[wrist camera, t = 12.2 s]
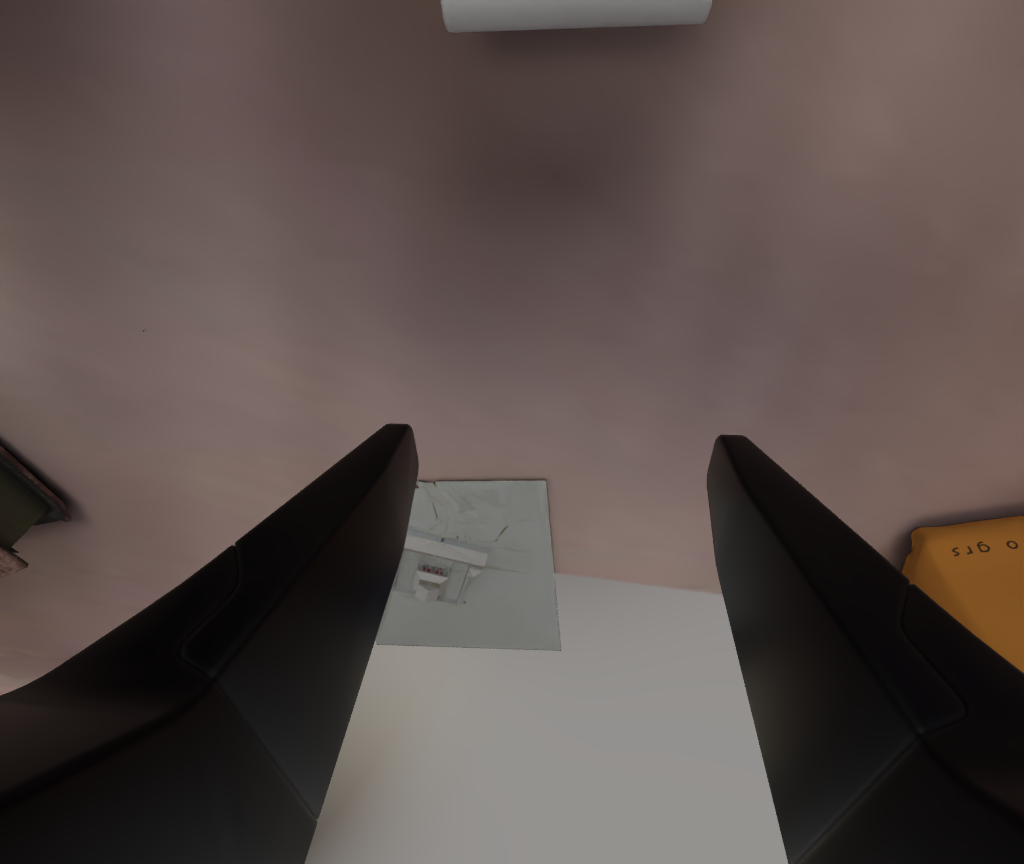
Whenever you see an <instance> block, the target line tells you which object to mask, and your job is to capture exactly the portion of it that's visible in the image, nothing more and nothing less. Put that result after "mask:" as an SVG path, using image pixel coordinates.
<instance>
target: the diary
mask: <svg viewBox="0 0 1024 864" xmlns="http://www.w3.org/2000/svg"><path fill="white" fill-rule="evenodd" d="M59 520H62V521H65V522H69V521H71V516H70V515H69V513H68V511H67V509H66V507H65V505H64V503H63V502H62V501H61V500H60V499H59V498H57V497H56V496H55V495H54V494H53V493H52V492H51V491H50V490H49V489H48V488H46V487H45V486H44V485H43V484H42V483H41V482H40V481H39V480H38V479H37V478H35V477H34V476H33V475H32V474H31V473H30V472H29V471H28V470H27V469H25V468H24V467H23V466H22V465H21V464H20V463H19V462H18V461H17V460H16V459H14V458H13V457H12V456H11V455H10V454H9V453H8V452H7V451H6V450H5V449H3V448H2V447H1V446H0V577H2V576H6V575H9V574H12V573H14V572H17V571H19V570H21V569H24V568H26V567H28V563H27V562H25V561H24V560H23V559H21V558H20V557H18V556H17V555H16V554H14V553H19V552H18V551H16V550H14V549H13V548H11V547H12V546H13V545H14V544H15V543H16V542H17V541H18V540H19V539H20V538H21V537H22V536H23V535H24V534H25V533H26V532H27V531H28V530H29V529H30V528H31V527H32V526H34V525H39V524H44V523H49V522H54V521H59ZM13 552H14V553H13Z"/></svg>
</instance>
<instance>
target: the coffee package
mask: <svg viewBox="0 0 1024 864" xmlns="http://www.w3.org/2000/svg"><path fill="white" fill-rule="evenodd" d="M911 539H912V546H911V548H912V552H911V553H910V554H909V555H908V556H907V558H906V560H905V564H904V566H903V570H902V572H901V573H902V574H904V575H905V576H906V577H907V578H908V579H909V580H910V584H915V585H916V586H918V587H919V588H920V589H921V590H922V591H923V592H925V593H926V594H927V595H928V596H929V597H930V598H931V599H933V600H934V601H935V602H936V603H937V604H938V605H940V606H941V607H942V608H943V609H944V610H945V611H947V612H948V613H949V614H950V615H951V616H953V617H954V618H955V619H956V620H957V621H959V622H960V623H961V624H962V625H963V626H965V627H966V628H967V629H968V630H969V631H971V632H972V633H973V634H974V635H975V636H977V637H978V638H979V639H981V640H982V641H983V642H984V643H986V644H987V645H988V646H990V647H991V648H992V649H993V650H995V651H996V652H997V653H999V654H1000V655H1001V656H1002V657H1004V658H1005V659H1006V660H1007V661H1009V662H1010V663H1011V664H1013V665H1014V666H1015V667H1016V668H1018V669H1019V670H1020V671H1022V672H1023V673H1024V516H1013V517H1006V518H998V519H990V520H983V521H975V522H968V523H961V524H954V525H948V526H939V527H921V528H917V529H915V530H914V531H913V532H912V534H911ZM910 584H909V585H910Z"/></svg>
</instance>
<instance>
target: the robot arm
mask: <svg viewBox="0 0 1024 864" xmlns="http://www.w3.org/2000/svg"><path fill="white" fill-rule="evenodd" d="M418 468H419V463H418V455H417V450H416V445H415V439H414V434H413V430H412V428H411V426H410V425H408V424H386V425H385V426H383V427H382V428H381V429H379V430H378V431H377V432H376V433H374V434H373V435H372V436H370V437H369V438H368V439H367V440H365V441H364V442H363V443H361V444H360V445H359V446H358V447H356V448H355V449H354V450H353V451H351V452H350V453H349V454H347V455H346V456H345V457H344V458H342V459H341V460H340V461H339V462H337V463H336V464H335V465H333V466H332V467H331V468H330V469H328V470H327V471H326V472H324V473H323V474H322V475H321V476H319V477H318V478H317V479H316V480H314V481H313V482H312V483H310V484H309V485H308V486H307V487H305V488H304V489H303V490H301V491H300V492H299V493H298V494H296V495H295V496H294V497H293V498H291V499H290V500H289V501H287V502H286V503H285V504H284V505H282V506H281V507H280V508H278V509H277V510H276V511H275V512H273V513H272V514H271V515H270V516H268V517H267V518H266V519H264V520H263V521H262V522H261V523H259V524H258V525H257V526H256V527H254V528H253V529H252V530H250V531H249V532H248V533H247V534H245V535H244V536H243V537H241V538H240V539H239V540H238V541H236V543H235V546H233V545H232V546H230V547H228V548H227V549H226V550H225V551H223V552H222V553H221V554H220V555H218V556H217V557H216V558H214V559H213V560H212V561H211V562H209V563H208V564H207V565H205V566H204V567H203V568H201V569H200V570H199V571H197V572H196V573H195V574H193V575H192V576H191V577H189V578H188V579H187V580H185V581H184V582H183V583H181V584H180V585H178V586H177V587H175V588H174V589H173V590H171V591H170V592H168V593H167V594H165V595H164V596H162V597H161V598H160V599H158V600H157V601H155V602H154V603H152V604H151V605H149V606H148V607H147V608H145V609H144V610H142V611H141V612H139V613H138V614H136V615H135V616H133V617H132V618H130V619H129V620H127V621H126V622H124V623H123V624H121V625H120V626H118V627H117V628H115V629H114V630H112V631H111V632H109V633H108V634H106V635H105V636H103V637H102V638H100V639H99V640H97V641H96V642H94V643H93V644H91V645H90V646H88V647H87V648H85V649H84V650H82V651H81V652H79V653H78V654H76V655H75V656H73V657H72V658H70V659H69V660H67V661H66V662H64V663H63V664H61V665H60V666H58V667H57V668H55V669H54V670H52V671H50V672H49V673H47V674H45V675H44V676H42V677H40V678H38V679H36V680H35V681H33V682H31V683H29V684H27V685H25V686H23V687H20V688H18V689H16V690H14V691H11V692H9V693H6V694H3V695H0V864H304V863H305V860H306V857H307V854H308V851H309V847H310V845H311V841H312V838H313V835H314V832H315V829H316V826H317V820H316V819H318V818H319V815H320V812H321V809H322V806H323V803H324V799H325V796H326V793H327V790H328V787H329V784H330V781H331V777H332V774H333V771H334V768H335V765H336V761H337V759H338V755H339V752H340V749H341V746H342V743H343V739H344V737H345V733H346V730H347V727H348V723H349V721H350V717H351V714H352V711H353V708H354V705H355V702H356V699H357V696H358V692H359V689H360V686H361V683H362V680H363V677H364V673H365V670H366V667H367V664H368V661H369V658H370V655H371V651H372V648H373V645H374V641H375V639H376V636H377V632H378V629H379V626H380V623H381V620H382V617H383V614H384V610H385V607H386V604H387V601H388V598H389V595H390V591H391V588H392V585H393V582H394V579H395V576H396V573H397V569H398V566H399V563H400V560H401V556H402V553H403V549H404V545H405V540H406V535H407V530H408V525H409V519H410V514H411V508H412V503H413V498H414V492H415V487H416V482H417V476H418ZM707 491H708V500H709V508H710V517H711V526H712V535H713V544H714V553H715V560H716V567H717V572H718V576H719V581H720V585H721V589H722V593H723V597H724V601H725V605H726V609H727V613H728V617H729V621H730V626H731V630H732V634H733V638H734V642H735V646H736V650H737V655H738V659H739V663H740V667H741V671H742V675H743V679H744V683H745V687H746V691H747V696H748V700H749V704H750V708H751V712H752V716H753V720H754V724H755V728H756V732H757V736H758V740H759V745H760V749H761V752H762V757H763V761H764V765H765V769H766V773H767V778H768V782H769V786H770V789H771V793H772V798H773V802H774V806H775V810H776V814H777V818H778V822H779V827H780V831H781V834H782V839H783V843H784V847H785V851H786V855H787V859H788V864H1024V673H1023V672H1022V671H1020V670H1019V669H1018V668H1016V667H1015V666H1014V665H1013V664H1011V663H1010V662H1009V661H1007V660H1006V659H1005V658H1004V657H1002V656H1001V655H1000V654H999V653H997V652H996V651H995V650H993V649H992V648H991V647H990V646H988V645H987V644H986V643H984V642H983V641H982V640H981V639H979V638H978V637H977V636H975V635H974V634H973V633H972V632H971V631H969V630H968V629H967V628H966V627H965V626H963V625H962V624H961V623H960V622H959V621H957V620H956V619H955V618H954V617H953V616H951V615H950V614H949V613H948V612H947V611H945V610H944V609H943V608H942V607H941V606H940V605H938V604H937V603H936V602H935V601H934V600H933V599H931V598H930V597H929V596H928V595H927V594H926V593H925V592H923V591H922V590H921V589H920V588H919V587H918V586H916V585H915V584H910V580H909V579H908V578H907V577H906V576H905V575H904V574H902V573H901V572H900V571H899V570H898V569H897V568H896V567H894V566H893V565H892V564H891V563H890V562H889V561H888V560H886V559H885V558H884V557H883V556H882V555H881V554H880V553H878V552H877V551H876V550H875V549H874V548H873V547H872V546H870V545H869V544H868V543H867V542H866V541H865V540H864V539H862V538H861V537H860V536H859V535H858V534H857V533H855V532H854V531H853V530H852V529H851V528H850V527H849V526H847V525H846V524H845V523H844V522H843V521H842V520H841V519H839V518H838V517H837V516H836V515H835V514H834V513H833V512H831V511H830V510H829V509H828V508H827V507H826V506H825V505H823V504H822V503H821V502H820V501H819V500H818V499H817V498H815V497H814V496H813V495H812V494H811V493H810V492H809V491H807V490H806V489H805V488H804V487H803V486H802V485H800V484H799V483H798V482H797V481H796V480H795V479H794V478H792V477H791V476H790V475H789V474H788V473H787V472H786V471H784V470H783V469H782V468H781V467H780V466H779V465H778V464H776V463H775V462H774V461H773V460H772V459H771V458H770V457H768V456H767V455H766V454H765V453H764V452H763V451H762V450H760V449H759V448H758V447H757V446H756V445H755V444H754V443H752V442H751V441H750V440H749V439H748V438H746V437H745V436H742V435H720V436H718V437H717V439H716V441H715V444H714V448H713V452H712V456H711V460H710V464H709V468H708V472H707ZM909 584H910V585H909Z"/></svg>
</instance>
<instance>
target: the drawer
mask: <svg viewBox="0 0 1024 864" xmlns="http://www.w3.org/2000/svg"><path fill="white" fill-rule="evenodd" d="M440 1H441V9H442V15H443V19H444V23H445V26H446V28H447V30H448V31H449V32H451V33H454V32H483V31H512V30H541V29H571V28H600V27H629V26H658V25H687V24H703V23H705V21H706V20H707V18H708V15H709V12H710V9H711V5H712V1H713V0H440Z"/></svg>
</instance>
